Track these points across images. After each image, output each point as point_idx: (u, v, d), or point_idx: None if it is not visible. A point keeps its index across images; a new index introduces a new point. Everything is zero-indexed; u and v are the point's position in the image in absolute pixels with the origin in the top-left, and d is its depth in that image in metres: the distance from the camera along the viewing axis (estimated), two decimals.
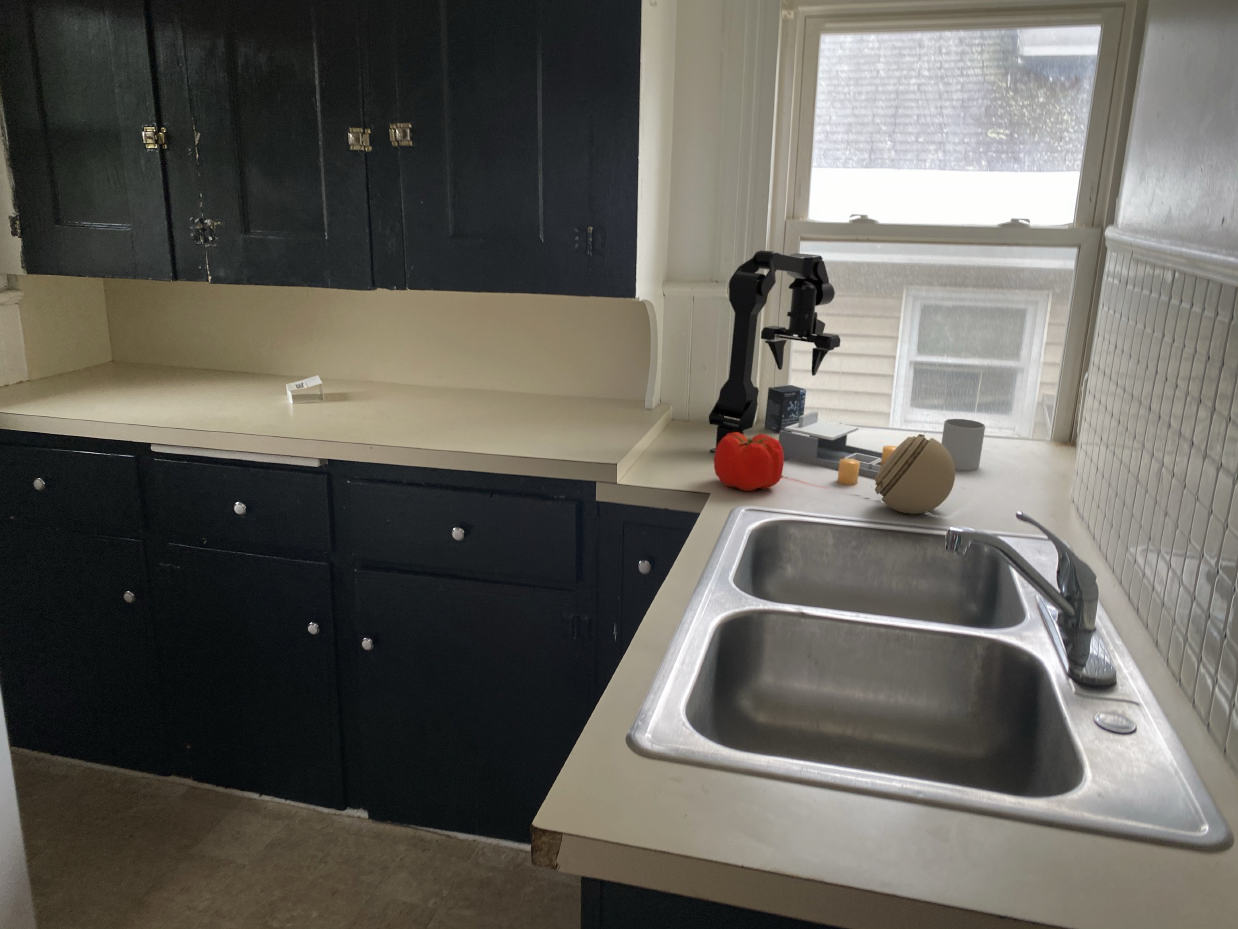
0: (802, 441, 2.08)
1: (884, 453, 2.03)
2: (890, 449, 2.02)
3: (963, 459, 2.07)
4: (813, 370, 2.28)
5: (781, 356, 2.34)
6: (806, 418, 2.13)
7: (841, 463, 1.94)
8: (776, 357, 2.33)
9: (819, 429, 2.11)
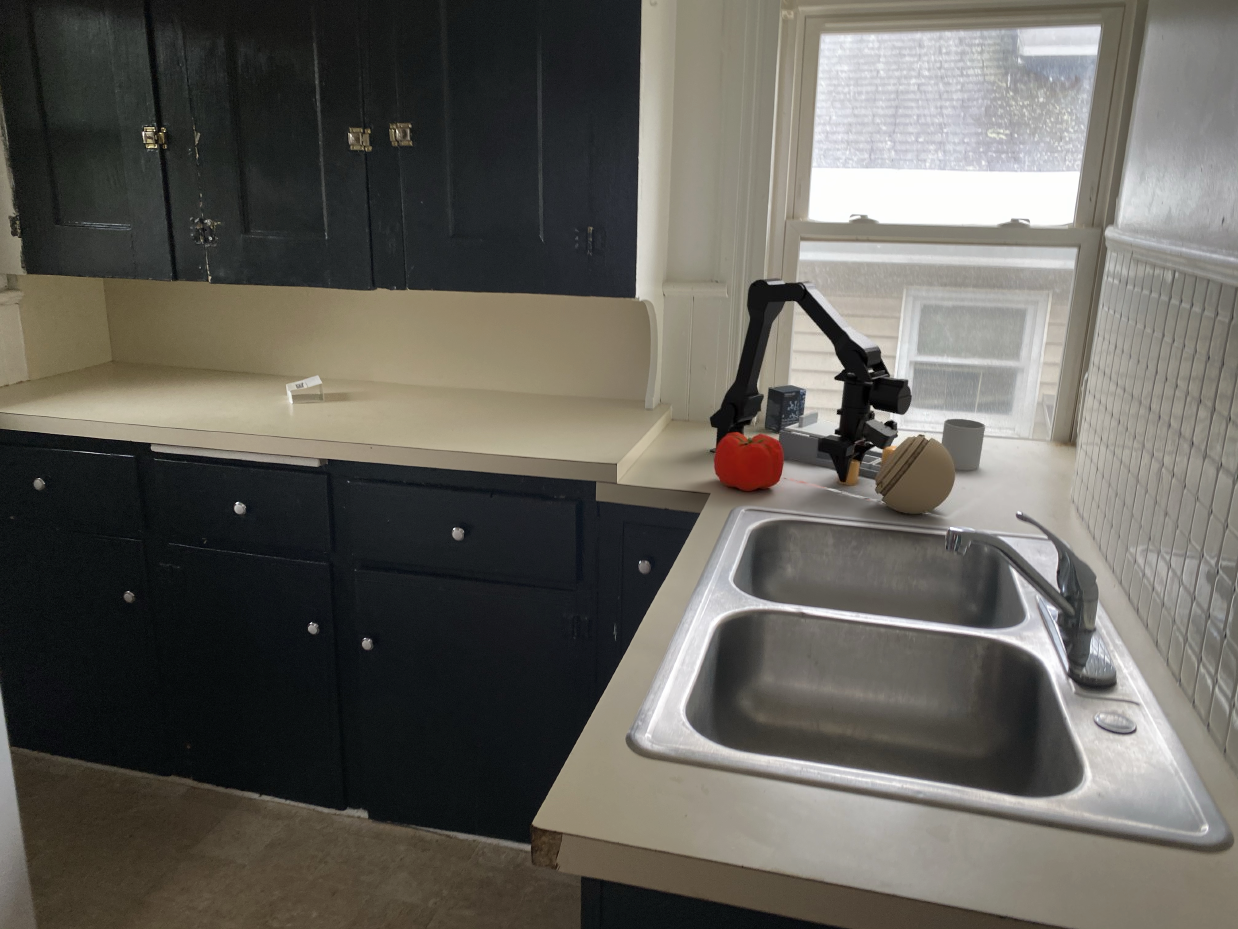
0: (802, 441, 2.08)
1: (884, 453, 2.03)
2: (890, 449, 2.02)
3: (963, 459, 2.07)
4: None
5: None
6: (806, 418, 2.13)
7: None
8: None
9: (819, 429, 2.11)
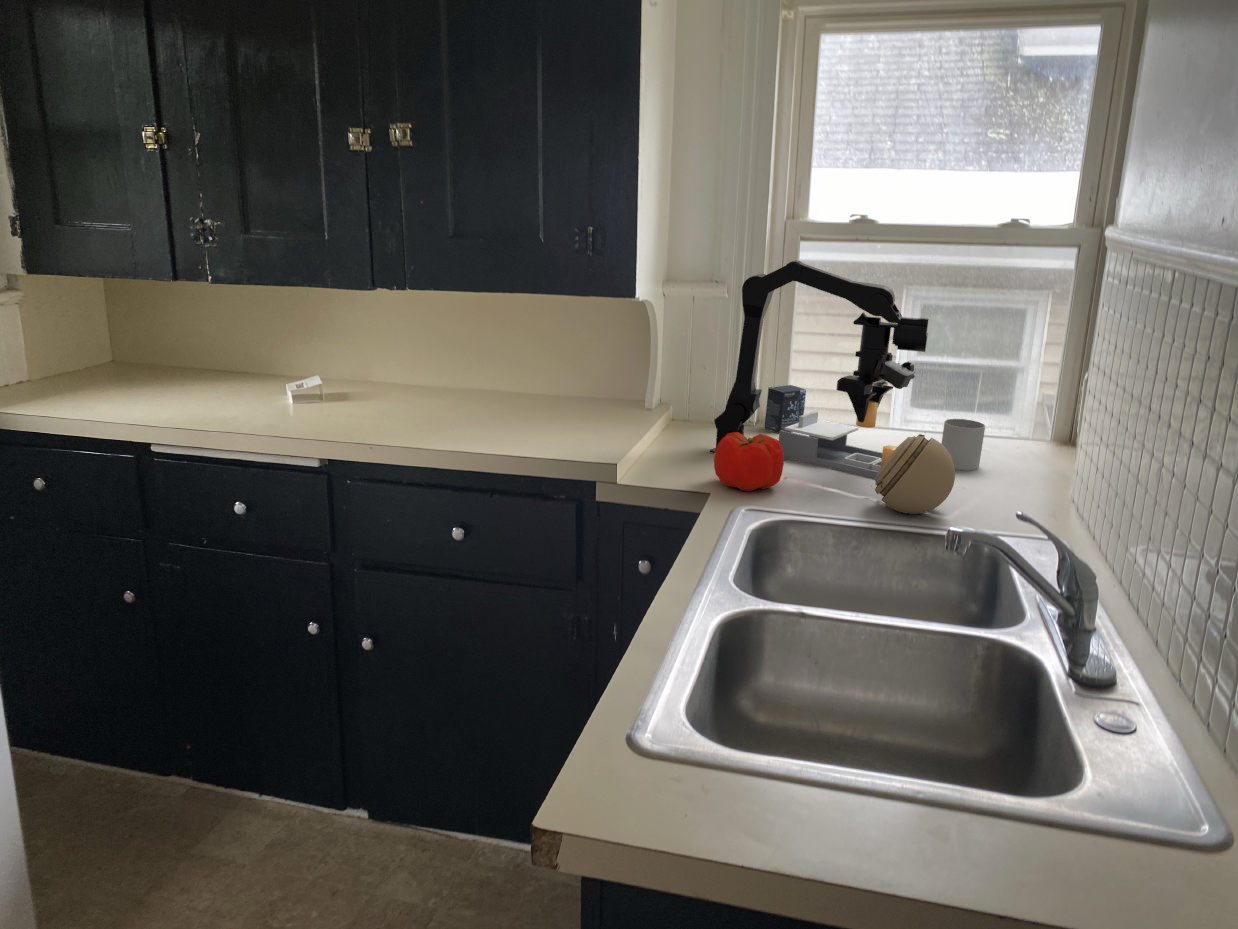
0: (802, 441, 2.08)
1: (884, 453, 2.03)
2: (890, 449, 2.02)
3: (963, 459, 2.07)
4: None
5: None
6: (806, 418, 2.13)
7: None
8: None
9: (819, 429, 2.11)
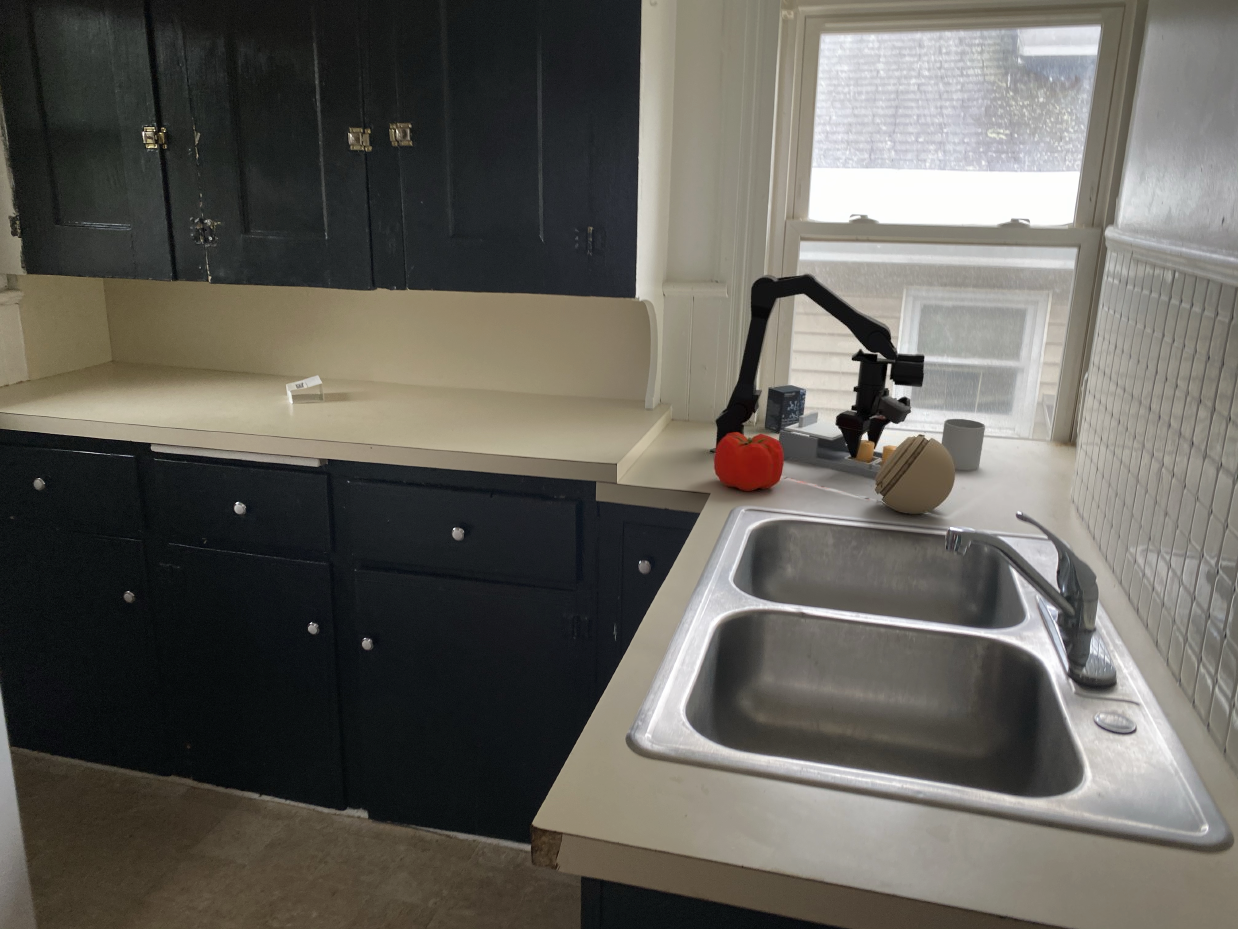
0: (802, 441, 2.08)
1: (884, 453, 2.03)
2: (890, 449, 2.02)
3: (963, 459, 2.07)
4: None
5: (874, 435, 2.10)
6: (806, 418, 2.13)
7: None
8: None
9: (819, 429, 2.11)
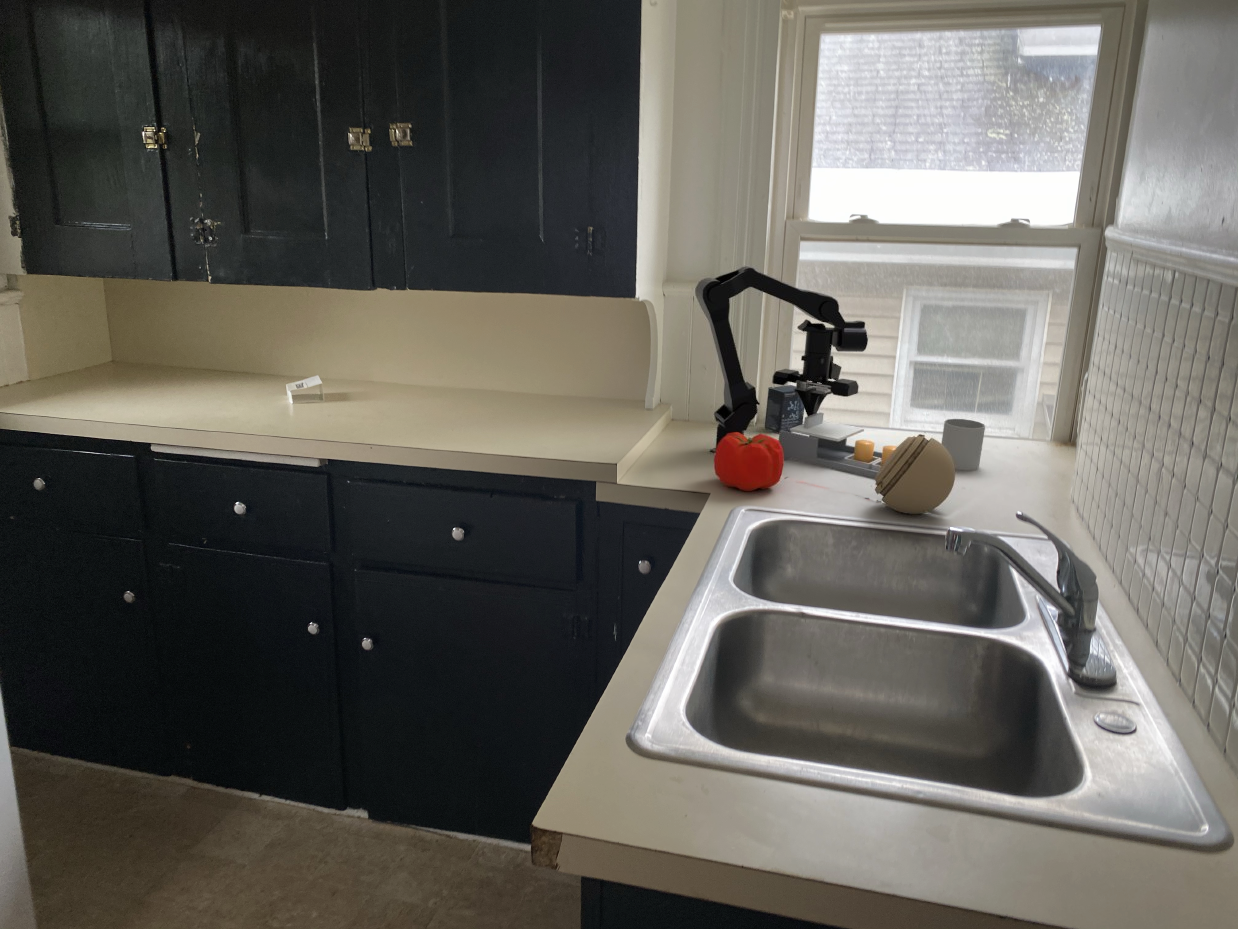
0: (802, 441, 2.08)
1: (883, 453, 2.03)
2: (890, 449, 2.02)
3: (963, 459, 2.07)
4: None
5: None
6: (811, 419, 2.12)
7: (857, 444, 2.06)
8: (806, 407, 2.15)
9: (825, 430, 2.10)
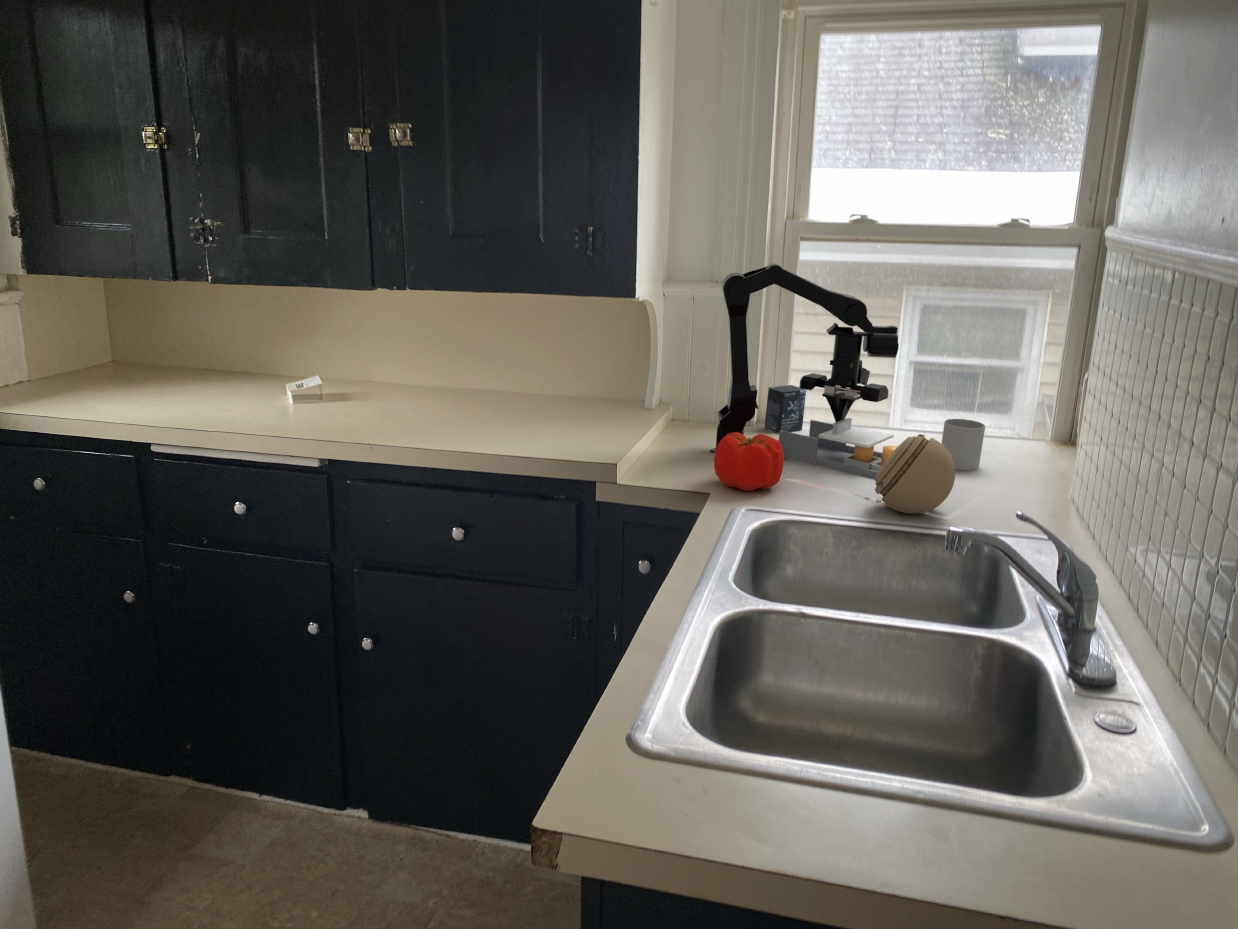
0: (802, 441, 2.08)
1: (883, 453, 2.03)
2: (890, 449, 2.02)
3: (963, 459, 2.07)
4: (839, 420, 2.11)
5: None
6: (840, 425, 2.08)
7: None
8: (835, 412, 2.11)
9: (854, 436, 2.06)
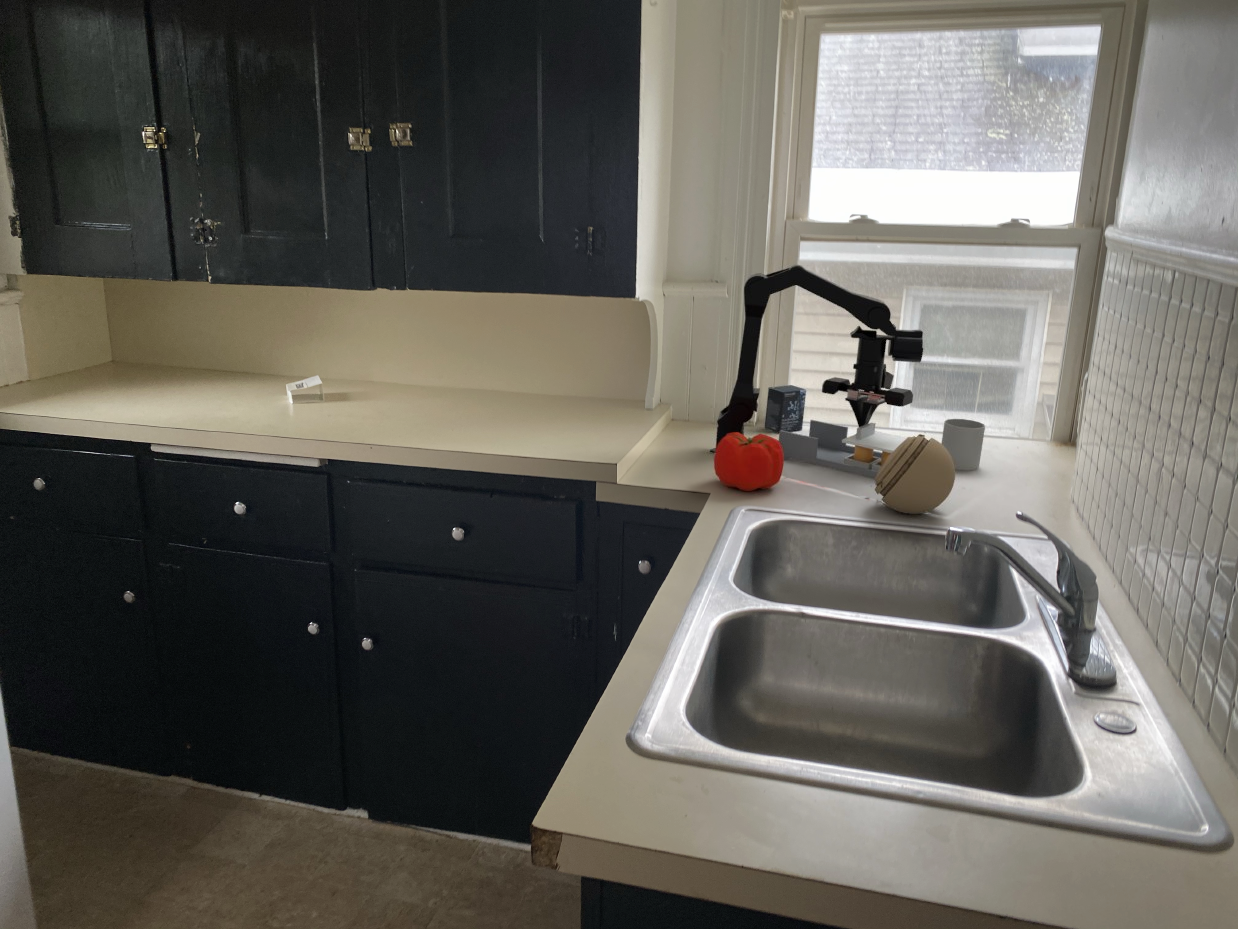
0: (802, 441, 2.08)
1: (883, 453, 2.03)
2: None
3: (963, 459, 2.07)
4: (863, 425, 2.08)
5: None
6: (864, 430, 2.04)
7: None
8: (858, 417, 2.07)
9: (878, 441, 2.03)
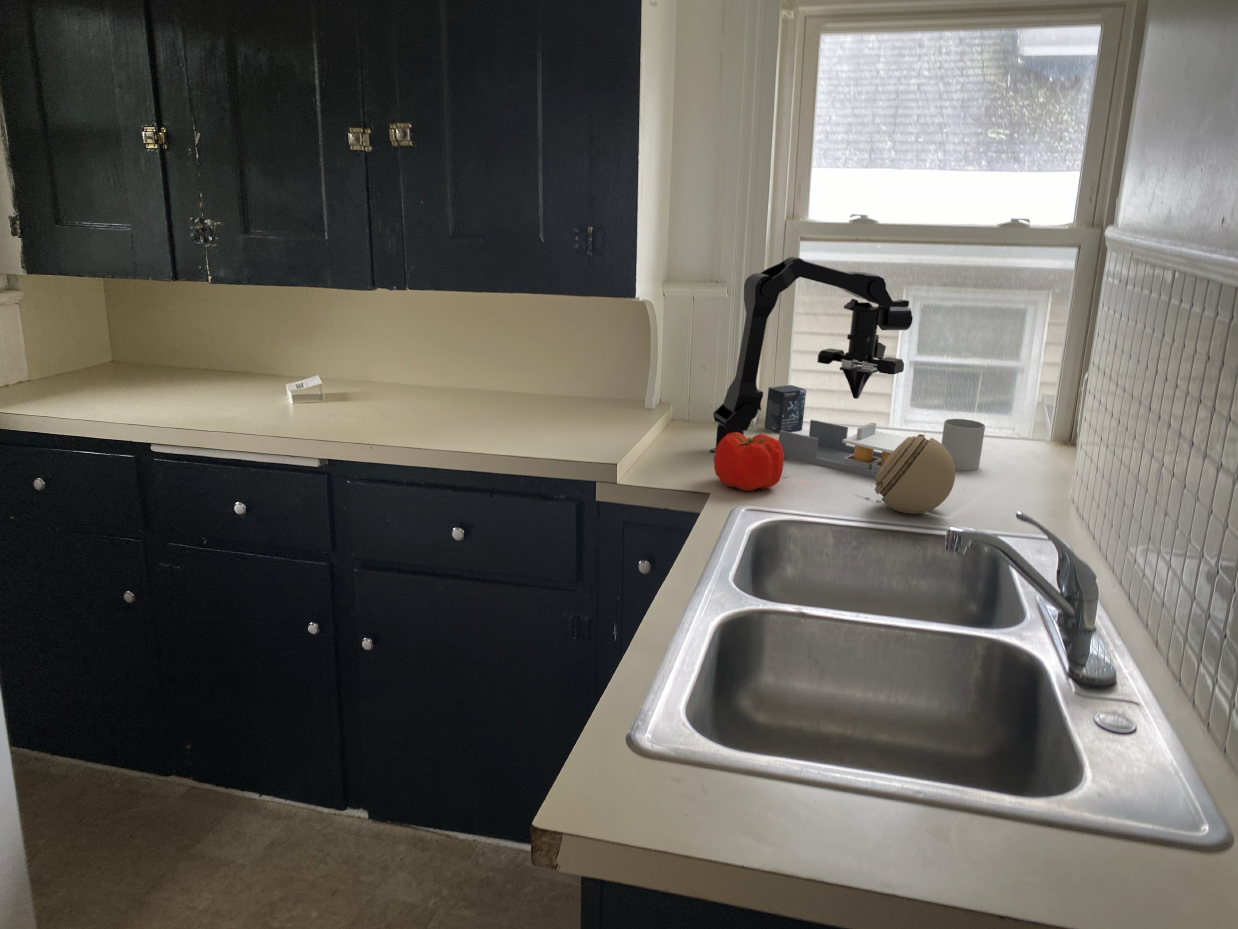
0: (802, 441, 2.08)
1: (883, 453, 2.03)
2: None
3: (963, 459, 2.07)
4: (856, 393, 2.18)
5: None
6: (864, 430, 2.04)
7: None
8: (851, 385, 2.17)
9: (878, 442, 2.03)
